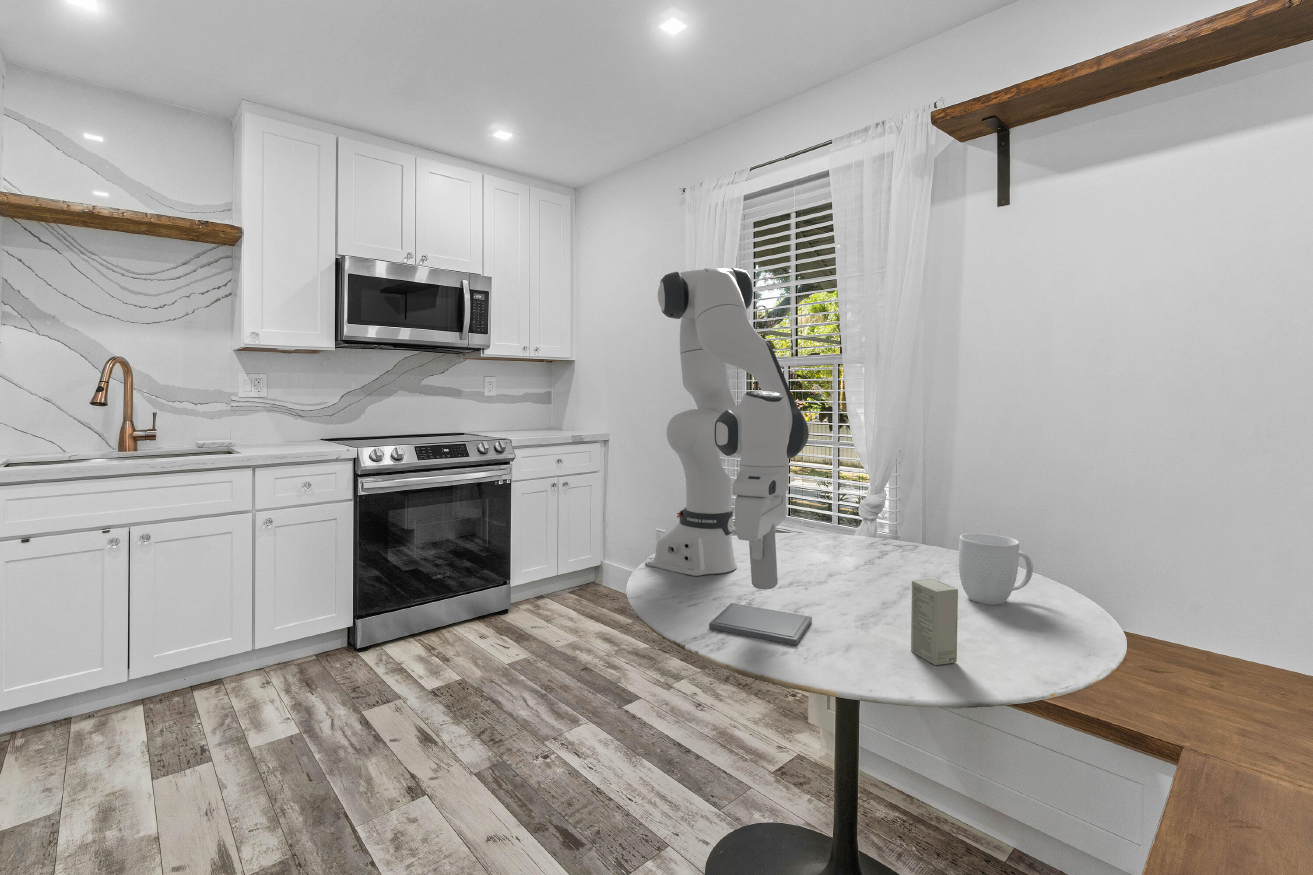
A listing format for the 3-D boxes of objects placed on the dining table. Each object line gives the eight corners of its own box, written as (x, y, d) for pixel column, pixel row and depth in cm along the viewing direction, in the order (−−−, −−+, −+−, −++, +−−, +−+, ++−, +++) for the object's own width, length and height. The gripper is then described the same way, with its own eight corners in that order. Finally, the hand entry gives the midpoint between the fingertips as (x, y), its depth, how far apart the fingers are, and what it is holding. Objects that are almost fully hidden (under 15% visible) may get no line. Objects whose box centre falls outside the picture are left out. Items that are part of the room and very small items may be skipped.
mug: (1013, 591, 134) (1016, 532, 133) (1047, 609, 123) (1050, 545, 122) (946, 591, 133) (949, 532, 132) (974, 609, 123) (977, 545, 122)
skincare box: (957, 663, 98) (961, 589, 97) (933, 666, 97) (937, 591, 96) (930, 647, 104) (933, 577, 103) (908, 650, 103) (910, 579, 102)
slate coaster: (709, 628, 111) (709, 622, 111) (731, 607, 122) (731, 602, 122) (796, 645, 104) (796, 639, 104) (811, 621, 115) (811, 616, 115)
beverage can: (762, 591, 109) (758, 525, 109) (746, 585, 113) (742, 521, 113) (783, 586, 111) (779, 521, 111) (766, 580, 116) (763, 518, 115)
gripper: (763, 472, 122) (762, 540, 123) (728, 486, 104) (727, 566, 105) (794, 474, 119) (793, 544, 120) (764, 488, 101) (763, 571, 102)
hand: (762, 554), depth 112 cm, fingers closed on beverage can, 5 cm apart
